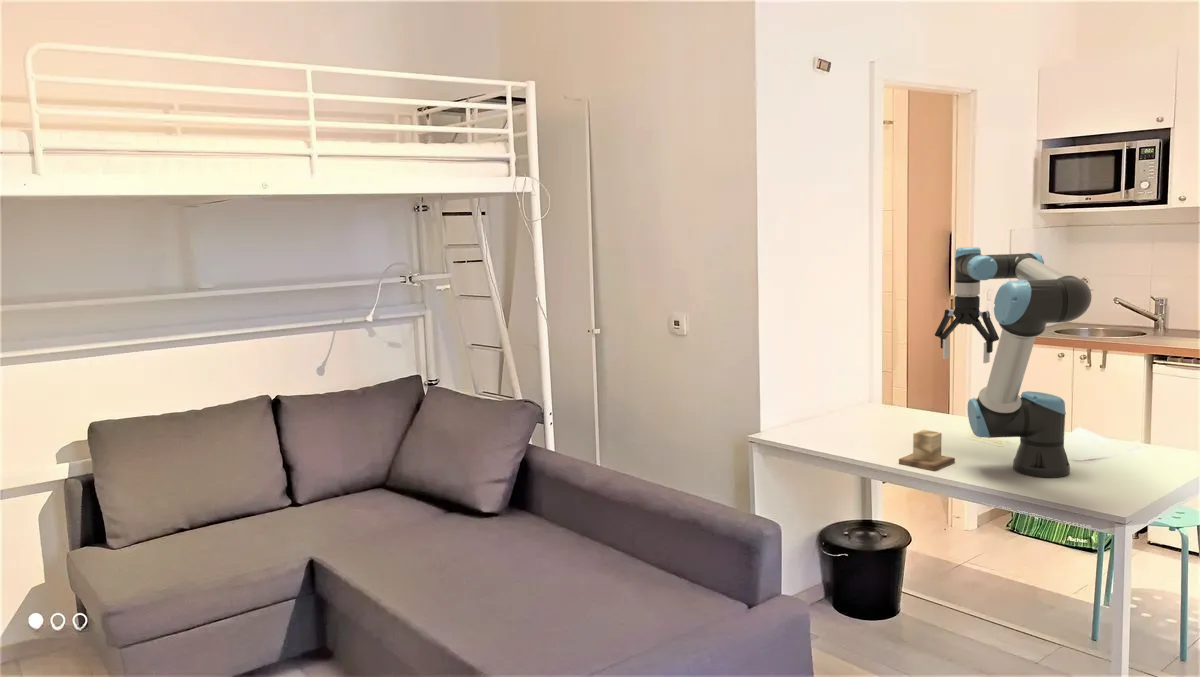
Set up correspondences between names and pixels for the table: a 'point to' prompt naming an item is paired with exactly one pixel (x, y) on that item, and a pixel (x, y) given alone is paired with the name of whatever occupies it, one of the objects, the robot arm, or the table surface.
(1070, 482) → the table surface
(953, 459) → the walnut board
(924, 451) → the oak block
